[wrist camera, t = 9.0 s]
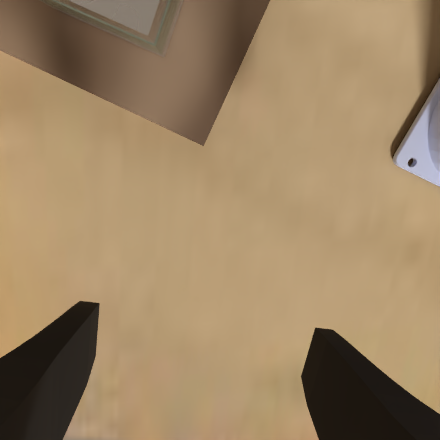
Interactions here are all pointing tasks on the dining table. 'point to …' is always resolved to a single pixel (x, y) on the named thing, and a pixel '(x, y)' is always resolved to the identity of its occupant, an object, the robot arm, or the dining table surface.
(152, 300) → the dining table surface
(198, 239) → the dining table surface
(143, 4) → the steel tin
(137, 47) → the walnut block
